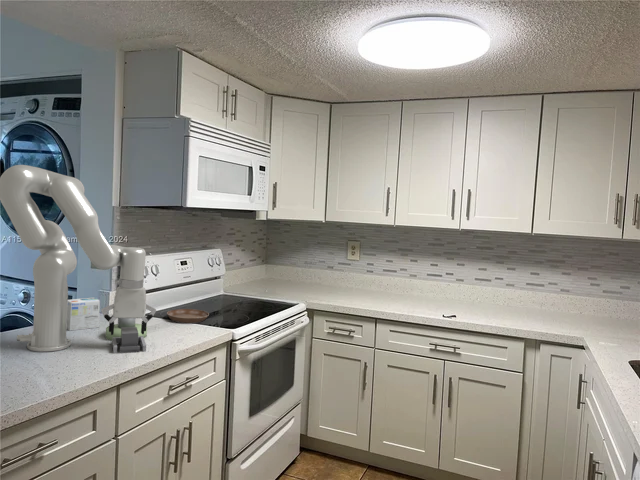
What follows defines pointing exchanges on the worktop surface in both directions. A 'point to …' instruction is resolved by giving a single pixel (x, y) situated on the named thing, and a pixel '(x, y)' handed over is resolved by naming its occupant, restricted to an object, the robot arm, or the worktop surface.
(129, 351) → the grey sliding block
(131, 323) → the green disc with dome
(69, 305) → the light bulb box
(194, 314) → the plant saucer
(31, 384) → the worktop surface
